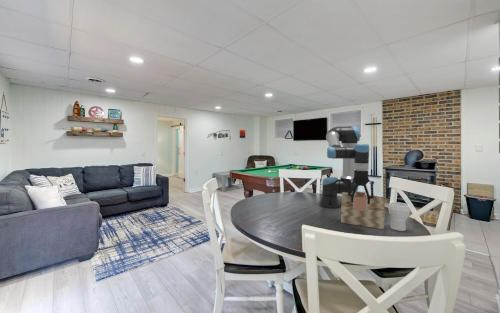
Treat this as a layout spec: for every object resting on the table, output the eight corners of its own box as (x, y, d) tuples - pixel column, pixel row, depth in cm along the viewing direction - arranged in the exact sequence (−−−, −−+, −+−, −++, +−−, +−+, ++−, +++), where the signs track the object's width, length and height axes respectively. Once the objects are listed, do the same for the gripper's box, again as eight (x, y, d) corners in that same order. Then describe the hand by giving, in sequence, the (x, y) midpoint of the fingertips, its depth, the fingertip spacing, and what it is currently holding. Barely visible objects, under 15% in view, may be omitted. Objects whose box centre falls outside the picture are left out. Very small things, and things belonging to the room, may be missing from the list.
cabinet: (354, 209, 126) (354, 194, 125) (355, 205, 134) (355, 191, 134) (365, 211, 123) (366, 195, 122) (366, 206, 132) (366, 192, 131)
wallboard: (340, 222, 140) (341, 193, 138) (341, 220, 144) (342, 192, 143) (383, 229, 128) (385, 198, 127) (383, 226, 133) (384, 196, 131)
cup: (400, 224, 135) (401, 201, 134) (413, 232, 124) (414, 206, 123) (383, 225, 135) (384, 201, 134) (395, 232, 124) (396, 207, 123)
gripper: (343, 169, 127) (342, 208, 128) (380, 171, 118) (379, 212, 119) (344, 168, 133) (343, 204, 135) (379, 170, 124) (378, 209, 126)
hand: (360, 208), depth 127 cm, fingers closed on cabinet, 6 cm apart
